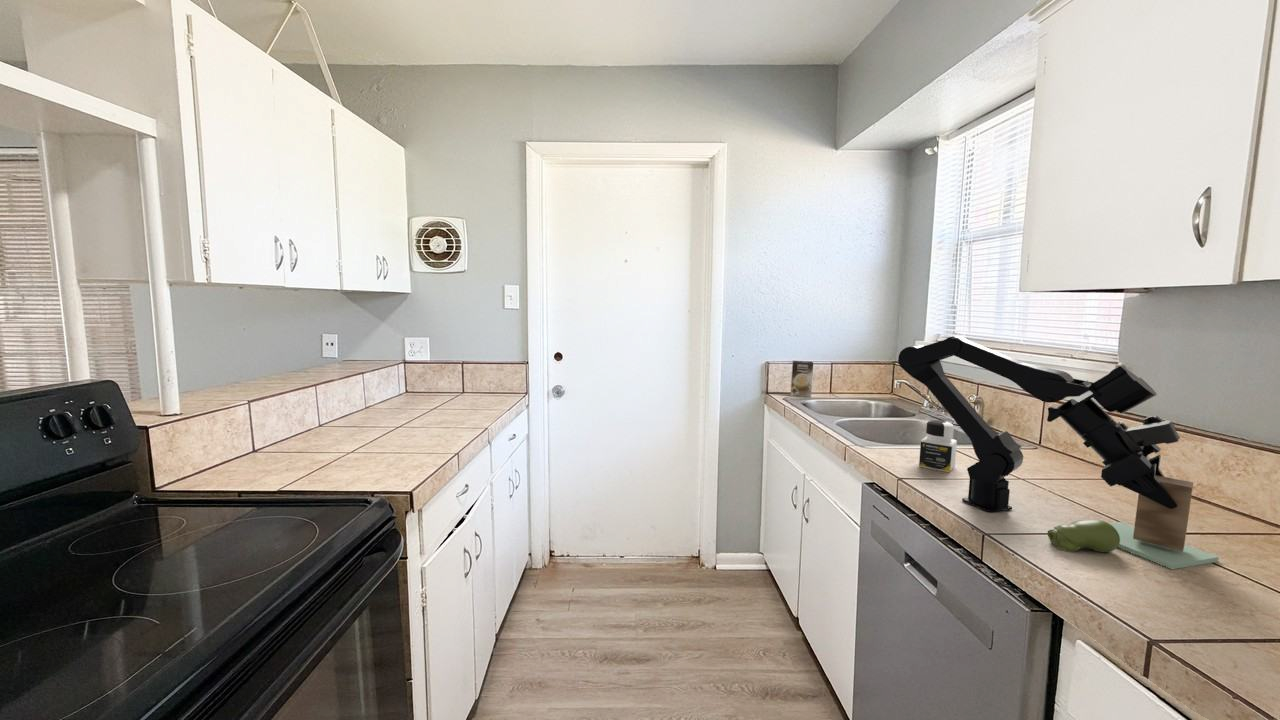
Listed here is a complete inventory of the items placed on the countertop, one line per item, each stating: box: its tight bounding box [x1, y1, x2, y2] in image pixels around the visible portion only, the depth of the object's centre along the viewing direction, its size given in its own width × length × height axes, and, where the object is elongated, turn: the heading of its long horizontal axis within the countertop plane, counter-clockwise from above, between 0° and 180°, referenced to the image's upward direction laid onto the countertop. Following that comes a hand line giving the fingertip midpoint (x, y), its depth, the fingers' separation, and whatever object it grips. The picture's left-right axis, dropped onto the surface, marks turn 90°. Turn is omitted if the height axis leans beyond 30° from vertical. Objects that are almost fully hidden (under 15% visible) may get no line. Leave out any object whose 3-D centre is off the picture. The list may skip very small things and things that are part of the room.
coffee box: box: [790, 360, 814, 399], centre depth 233 cm, size 9×6×16 cm
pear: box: [1047, 518, 1120, 553], centre depth 88 cm, size 6×5×10 cm
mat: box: [1108, 521, 1220, 570], centre depth 90 cm, size 14×11×1 cm
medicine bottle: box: [918, 419, 958, 473], centre depth 132 cm, size 7×7×12 cm
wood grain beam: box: [1133, 475, 1194, 552], centre depth 87 cm, size 6×4×11 cm, turn 40°
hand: (1175, 504), depth 86 cm, fingers closed on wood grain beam, 4 cm apart
